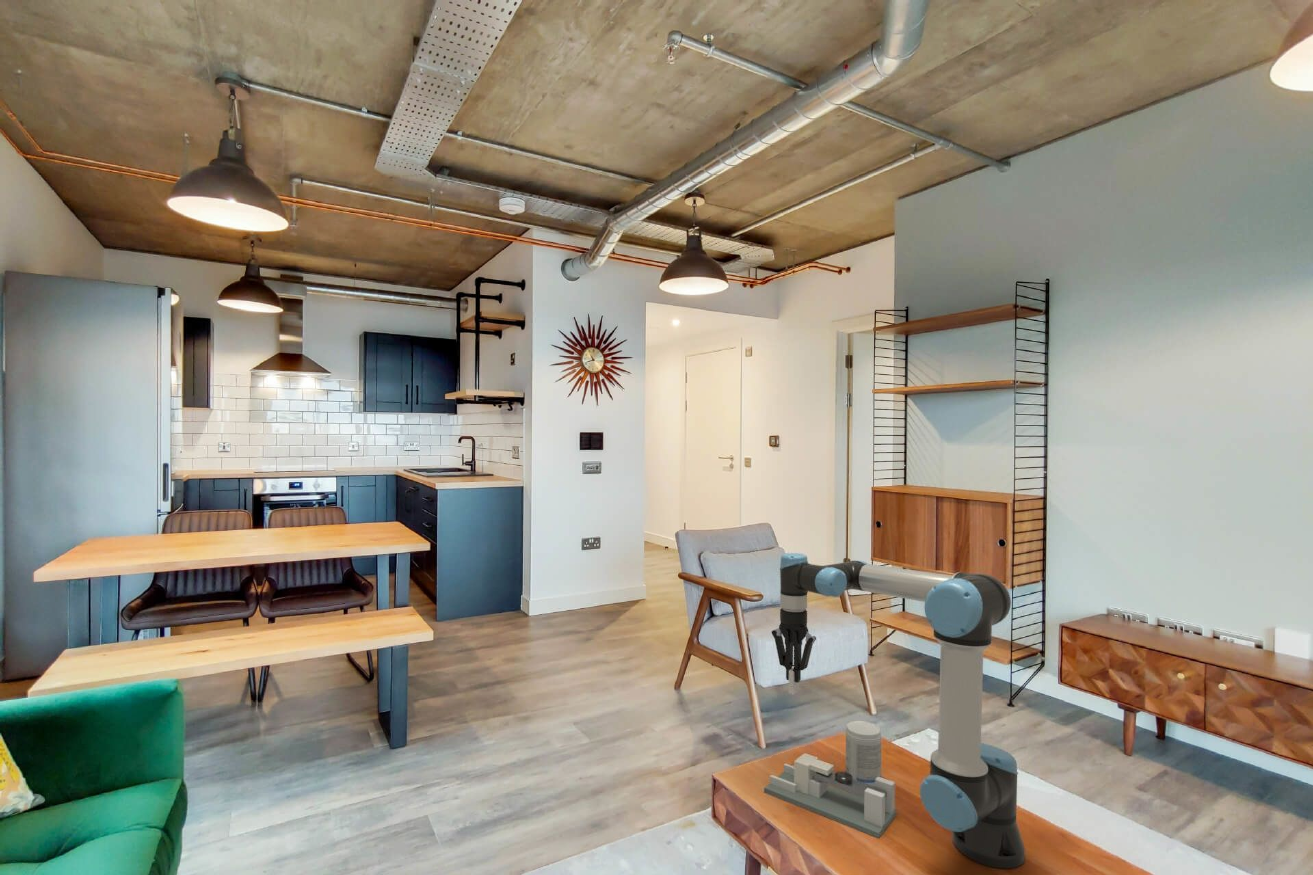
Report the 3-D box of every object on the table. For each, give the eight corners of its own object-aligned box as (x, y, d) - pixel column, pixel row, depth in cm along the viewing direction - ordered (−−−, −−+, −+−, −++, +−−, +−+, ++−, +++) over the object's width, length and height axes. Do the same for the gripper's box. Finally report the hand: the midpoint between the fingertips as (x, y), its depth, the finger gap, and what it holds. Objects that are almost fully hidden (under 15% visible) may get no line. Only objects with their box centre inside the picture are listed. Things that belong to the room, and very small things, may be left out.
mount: (896, 814, 164) (897, 781, 164) (878, 837, 154) (879, 802, 154) (786, 773, 183) (787, 743, 183) (764, 792, 173) (764, 760, 173)
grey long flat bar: (886, 796, 162) (887, 787, 162) (880, 804, 159) (880, 794, 159) (821, 772, 173) (822, 763, 173) (814, 778, 170) (814, 769, 170)
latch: (835, 791, 172) (835, 763, 172) (825, 801, 167) (826, 772, 167) (803, 780, 177) (804, 753, 177) (794, 789, 173) (794, 761, 173)
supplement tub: (887, 780, 180) (888, 728, 181) (870, 792, 174) (871, 738, 174) (855, 767, 187) (856, 717, 188) (838, 779, 181) (839, 726, 181)
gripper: (820, 609, 181) (820, 694, 181) (779, 602, 189) (778, 683, 189) (809, 614, 175) (808, 702, 175) (766, 607, 183) (766, 690, 183)
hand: (793, 692), depth 182 cm, fingers closed
